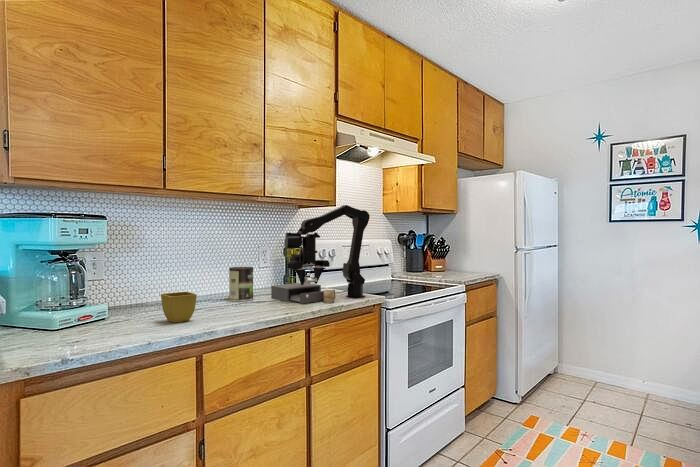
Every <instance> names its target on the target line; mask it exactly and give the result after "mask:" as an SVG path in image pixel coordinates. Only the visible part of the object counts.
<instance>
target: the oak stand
mask: <svg viewBox="0 0 700 467" xmlns="http://www.w3.org/2000/svg"><path fill="white" fill-rule="evenodd" d="M333 290H334V289H327V290H326V289H324V290H323V291H324V300H323V303H324V304H334V303H335V299H334V291H333Z"/></svg>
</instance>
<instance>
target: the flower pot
mask: <svg viewBox="0 0 700 467" xmlns="http://www.w3.org/2000/svg"><path fill="white" fill-rule="evenodd" d="M197 295H198V294H197V293H194V292H190V291H177V292H167V293H165V292H164V293H160V298H161V300H160V301H161V307H162V312H163V314H164V316H165V318H166V320H167V321H169V322H172V323H174V324H176V323H179V322H180V323H181V322H188V321H190V320H191V319H192V316H193V315H194V312H195V309H196V306H197V297H198V296H197Z"/></svg>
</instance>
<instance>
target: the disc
mask: <svg viewBox="0 0 700 467" xmlns="http://www.w3.org/2000/svg"><path fill="white" fill-rule="evenodd" d="M315 282H317V278H316V277H314V276H305V278H304V283H311V284H313V283H315ZM317 283H318V282H317Z"/></svg>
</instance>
